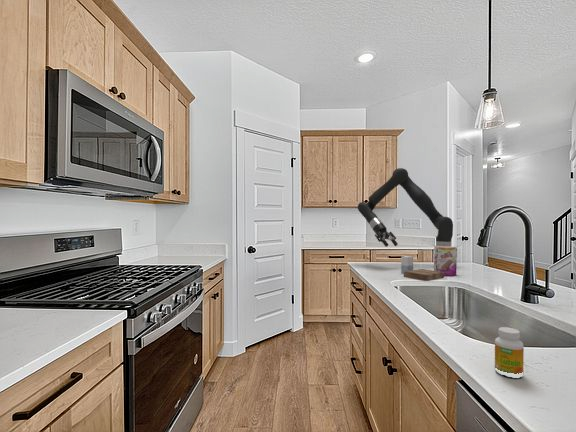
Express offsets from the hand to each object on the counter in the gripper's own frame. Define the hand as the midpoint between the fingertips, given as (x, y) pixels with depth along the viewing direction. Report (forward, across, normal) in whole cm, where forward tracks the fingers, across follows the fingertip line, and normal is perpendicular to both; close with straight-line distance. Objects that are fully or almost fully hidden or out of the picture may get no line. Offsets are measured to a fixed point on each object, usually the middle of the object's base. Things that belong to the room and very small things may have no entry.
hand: (392, 245), depth 214 cm
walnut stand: (+28, -3, -6) cm, 29 cm away
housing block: (+19, 0, +3) cm, 19 cm away
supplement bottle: (+86, -89, -63) cm, 139 cm away
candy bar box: (+30, +13, -8) cm, 34 cm away
